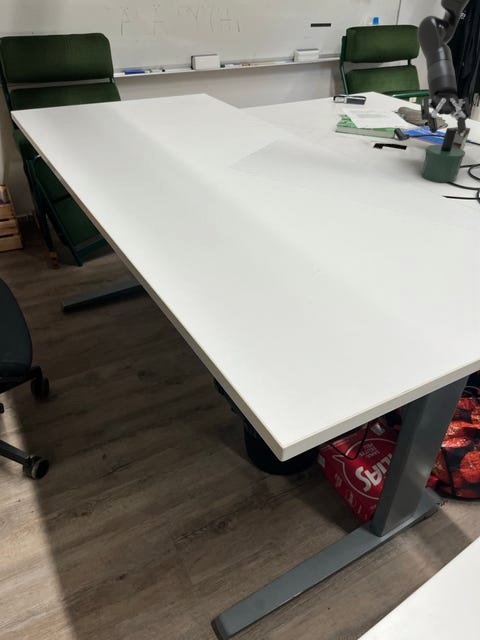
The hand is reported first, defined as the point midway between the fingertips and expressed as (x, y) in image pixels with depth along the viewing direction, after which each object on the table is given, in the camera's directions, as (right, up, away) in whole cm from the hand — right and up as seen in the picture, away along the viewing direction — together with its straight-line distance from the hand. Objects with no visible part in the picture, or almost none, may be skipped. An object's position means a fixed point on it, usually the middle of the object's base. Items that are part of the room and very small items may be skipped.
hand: (448, 131), depth 140 cm
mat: (-7, +7, +30) cm, 32 cm away
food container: (+8, -3, +18) cm, 20 cm away
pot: (0, -11, +6) cm, 13 cm away
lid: (0, -5, +2) cm, 6 cm away
